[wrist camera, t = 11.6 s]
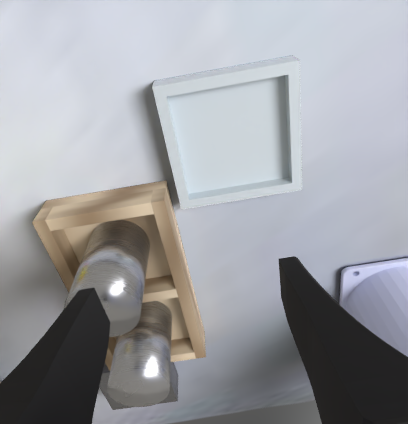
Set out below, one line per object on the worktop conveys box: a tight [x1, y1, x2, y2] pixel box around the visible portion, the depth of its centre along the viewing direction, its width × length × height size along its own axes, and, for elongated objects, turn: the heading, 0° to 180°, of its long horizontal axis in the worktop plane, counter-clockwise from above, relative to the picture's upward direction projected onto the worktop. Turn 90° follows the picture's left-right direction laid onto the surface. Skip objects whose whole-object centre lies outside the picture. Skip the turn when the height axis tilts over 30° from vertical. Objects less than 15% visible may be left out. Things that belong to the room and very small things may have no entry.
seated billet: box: [107, 301, 172, 407], centre depth 26 cm, size 4×4×6 cm
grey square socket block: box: [99, 362, 178, 410], centre depth 32 cm, size 6×6×2 cm
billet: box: [64, 220, 150, 337], centre depth 22 cm, size 4×4×6 cm
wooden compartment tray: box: [32, 181, 206, 371], centre depth 26 cm, size 8×15×2 cm, turn 9°
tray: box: [152, 55, 302, 210], centre depth 21 cm, size 8×8×1 cm
